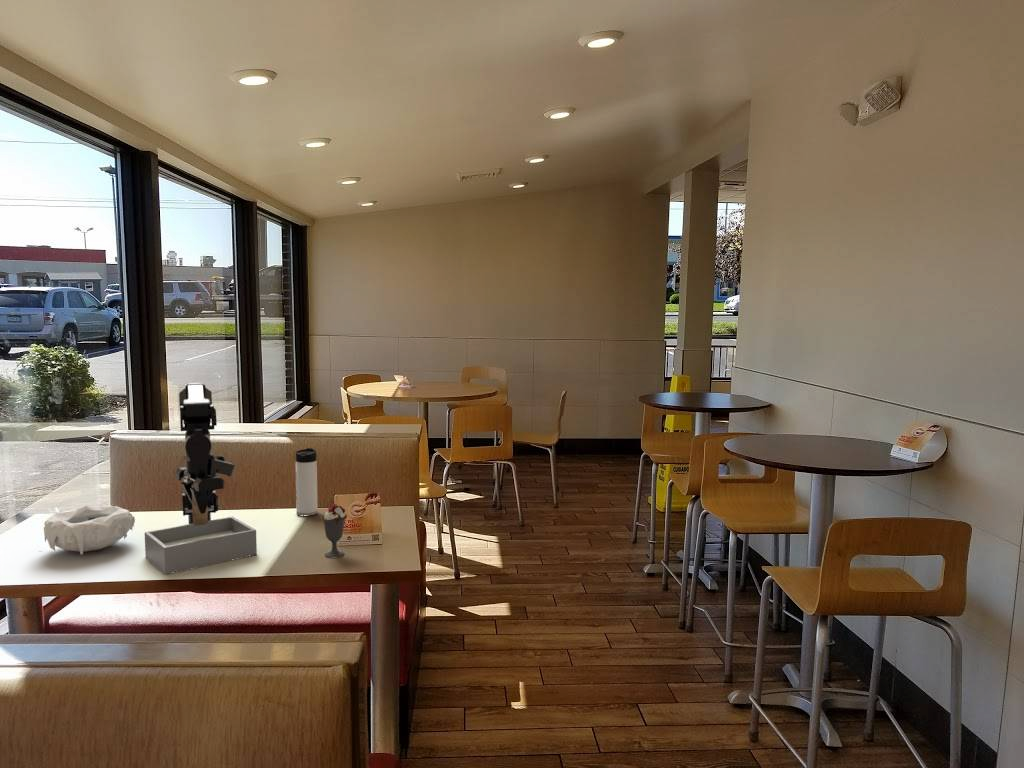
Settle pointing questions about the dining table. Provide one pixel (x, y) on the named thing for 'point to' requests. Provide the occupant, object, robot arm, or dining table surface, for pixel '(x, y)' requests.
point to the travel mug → (306, 482)
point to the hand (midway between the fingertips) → (200, 511)
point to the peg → (198, 513)
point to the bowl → (88, 528)
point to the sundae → (334, 527)
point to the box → (199, 544)
